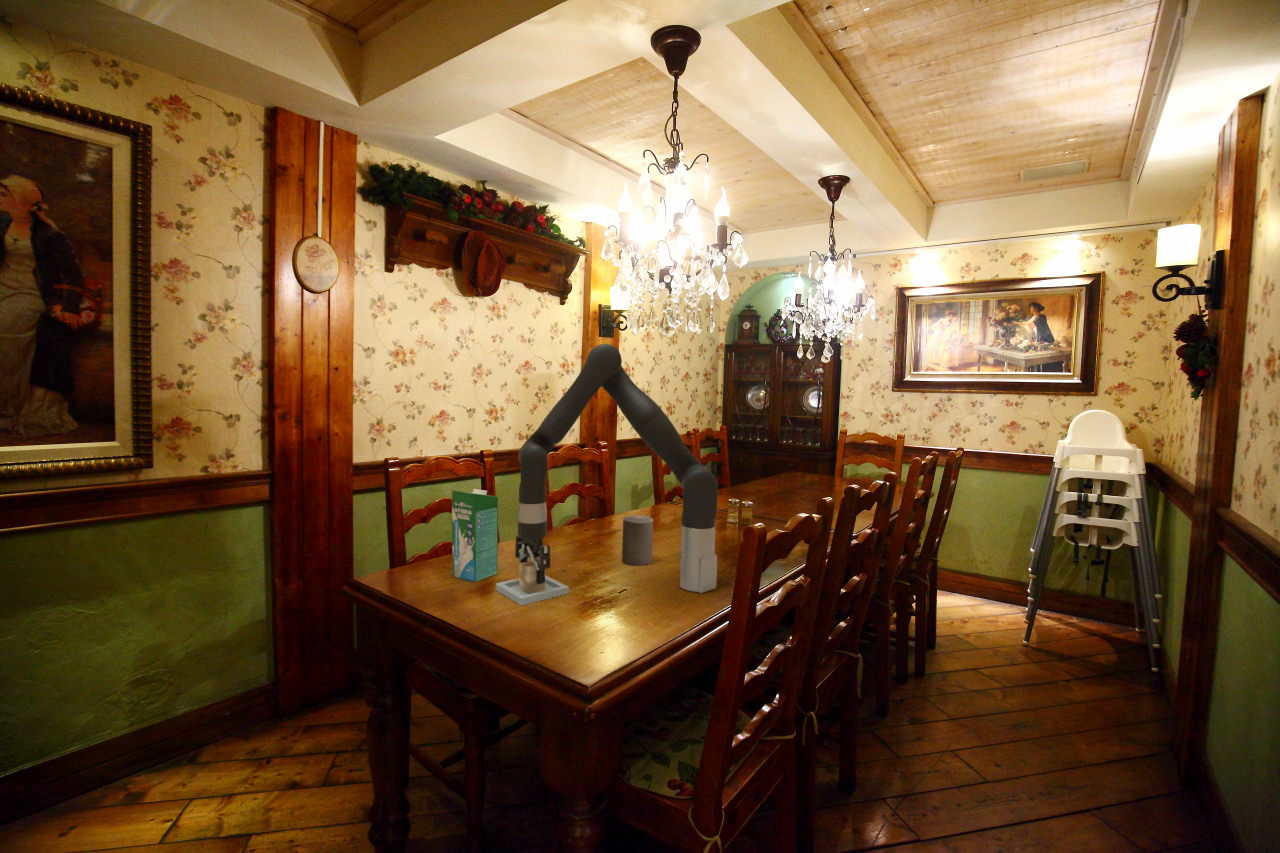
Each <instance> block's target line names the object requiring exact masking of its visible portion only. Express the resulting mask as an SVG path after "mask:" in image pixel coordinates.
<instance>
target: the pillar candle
mask: <svg viewBox="0 0 1280 853" xmlns="http://www.w3.org/2000/svg"><path fill="white" fill-rule="evenodd" d="M653 539H654V519H653V517H650V516H647V515H639V514H637V515H627V516H624V517H623V520H622V541H621V542H622V545H621V546H622V547H621V562H622V563H623V564H625V563H626V564H625V565H628V564H629V566H635V565H642V566H647V565H646V564H648V565H651V563H653V544H654V542H653Z"/></svg>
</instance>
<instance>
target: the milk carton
mask: <svg viewBox="0 0 1280 853" xmlns="http://www.w3.org/2000/svg"><path fill="white" fill-rule="evenodd" d="M487 493H488V490H484V489H483V490H482V489H479V488H478V489H477V488H473V489H472V492H468V491H462V490H451V503H452V504H451V508H452V509H451V518H452V519H451V520H452V521H451V527H452V528H451V540H452V541H451V544H452V545H451V548H452V550H451V551H452V552H451V553H452V555H451V556H452V557H451V558H452V559H451V560H452V561H451V562H452V563H451V564H452V566H451V568H452V570H451V572H452V577H454V578H458V579H461V580H466V581H469V582H473V583H476V582H479V581H482V580H483V579H487V578H489V577H491V576H494V575H498V574H499V572H498V570H499V569H498V568H499V565H498V564H499V562H498V560H499V552H498V551H499V544H498V543H499V535H498V534H499V497H498V496H496V495H488V494H487ZM497 573H498V574H497Z"/></svg>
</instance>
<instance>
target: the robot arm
mask: <svg viewBox="0 0 1280 853" xmlns="http://www.w3.org/2000/svg"><path fill="white" fill-rule="evenodd" d="M622 361H623V360H622V355H621V353H620V351H619V350H618V348H617V347H615V346H614V345H612V344H610V343H609V344H608V343H602V344H598V345H596V346H594V347H593V348H592V349H591V350H589V353H588V355H587V358H586V361H585V363H584V365H583V367H582V369H581V370H580V372H579V374H578V376H576V378H575V380H574V381H573V383H572V384H571V386H570V387H569V388H568V389H567V391H566V392H565V393H564V394H563V395H562V396H561V397H560V399H559V400H558V401H557V403H556V404H555V405H554V406H553V407H552V408H551V410H550V411H549V412H548V414H547V415H546V416H545V417H544V419H543V421H542V422H541V423H540V424H539V427H537V429H536V430H535V431H534V432H533V433H532V434H531V436H530V437H528V439H527V440H526V441H525V442H524V444H522V446H521V447H520V449H519V451H518V456H517V458H518V461H519V464H520V465H519V466H520V483H519V486H518V508H517V536H516V537H515V549H514V550H515V553H514V555H515V556H514V557H515V558H516V559H517V558H518V562H519V563H523V562H528V561H529V559H530V560H531V561H532V562H533V563H535V566H536V569H537V570H536V583H537V584H542V583H544V582H545V575H546V570H547V569H550V568H551V546H550V544H546V545H544V543H543V542H544V541H543V539H544V538H546V536H547V532H548V530H547V529H548V527H547V526H548V522H547V521H548V520H547V519H548V518H547V517H548V513H547V512H548V509H547V487H546V482H547V481H546V480H547V476H548V475H547V474H548V455H549V454H550V453H551V451H552V449H553V448H554V447H555V446H556V445H557V444H559V443H561V441H563V439H564V438H565V437H566V436H567V434H568V433H569V431H571V429H572V428H573V427H574V425H575V423H576V422H577V420H578V419H579V417H580V416H581V414H582V413H583V411H584V409H585V408H586V406H587V405H588V403H590V401H591V400H592V398H593V397H594V396H595V394H597V392H598V391H599V390H600V389H601V388H602V389H603V390H604V391H605V392H606V393H607V394H608V395H609V396H610V397H611V398H612V400H613V401H614V402H615V404H616V405H617V407H618V408H619V409H620V411H621V413H622V414H623V415H624V417H625V418H626V420H627V421H628V423H629V424H630V426H631V427H632V428H633V430H634V431H635V432H636V433H637V435H638V436H639V437H640V438H641V439H642V441H643V442H644V443H645V444H646V445H647V446H648V447H649V449H650V450H651V451H652V452H654V453H655V454H656V455H657V456H658V458H660V459H661V460H662V461H663V462H664V463H665V464H666V465H667V466H668V468H669V469H670V470H671V472H672V473H673V475H674V476H675V477H676V480H677V481H678V483H679V484H680V486H681V488H682V490H683V492H682V493H683V496H682V497H683V499H682V514H681V530H680V531H681V532H680V533H681V535H680V570H679V571H680V575H679V576H680V578H679V580H680V581H679V586H680V587H681V589H684V590H685V591H689V592H693V593H695V592H697V593H700V594H703V593H706V592H708V591H712V590H716V589H717V573H718V571H717V570H718V555H717V554H716V553H715V544H716V543H715V541H716V540H715V539H716V537H715V536H716V519H717V515H718V514H717V513H718V497H719V496H718V494H719V493H718V492H719V488H718V484H719V483H718V480H717V478H716V476H715V475H714V474H713V472H712V471H711V470H710V469H708V468H707V467H706V466H705V465H704V464H702V463H701V462H700V461H699V459H697V457H696V456H695V455H694V454H693V453H692V452H691V451H690V450H689V449H688V447H687V446H686V444H685V442H684V441H683V439H682V437H681V436H680V433H679V432H678V430H677V429H676V427H675V426H674V424H673V423H672V421H671V419H669V417H668V416H667V415H666V413H665V412H664V411H663V410H662V408H661V407H660V406H659V405H658V404H657V403H656V402H655V400H653V398H651V397H650V396H649V395H648V394H647V393H645V392H644V391H643V390H642V389H641V388H639V387H638V386H637V385H636V384H635V383H634V381H633V380H632V379H631V378H630V375H628V374H627V372H626V371H625V369H624V367H623V366H622ZM538 562H540V565H539V563H538Z"/></svg>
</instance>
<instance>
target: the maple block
mask: <svg viewBox="0 0 1280 853" xmlns="http://www.w3.org/2000/svg"><path fill="white" fill-rule="evenodd" d="M527 561H528V562H523V563H520V562H519V564H518V565H519V566H518V568H519V573H518V574H519V589H520V590H522V591H523V592H525V593H527V594H532V593H537V592H541V591H545V582H544V583H542V584H537V583H536V570H537V569H536V566H535V563H533V562H532V560H527ZM538 563H539V565H540V561H539V562H538Z"/></svg>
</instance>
